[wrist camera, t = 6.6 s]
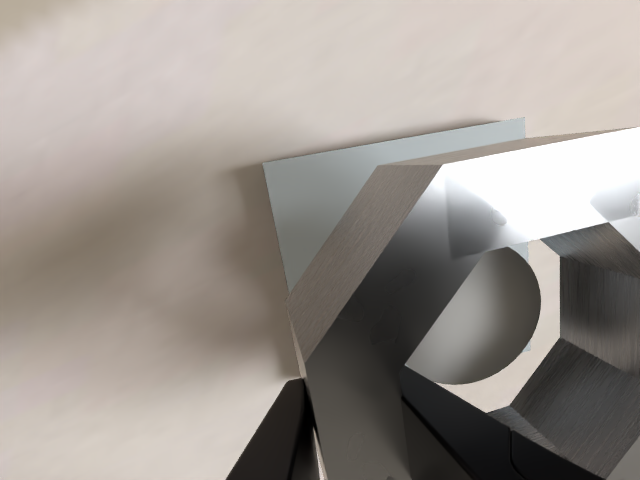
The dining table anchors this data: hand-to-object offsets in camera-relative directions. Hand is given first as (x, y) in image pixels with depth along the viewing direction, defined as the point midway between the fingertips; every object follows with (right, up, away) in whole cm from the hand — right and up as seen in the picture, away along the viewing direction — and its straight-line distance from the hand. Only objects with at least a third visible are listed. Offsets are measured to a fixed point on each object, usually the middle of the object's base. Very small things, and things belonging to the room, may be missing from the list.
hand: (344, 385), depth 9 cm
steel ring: (+4, +1, +2) cm, 4 cm away
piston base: (+3, +3, +8) cm, 9 cm away
